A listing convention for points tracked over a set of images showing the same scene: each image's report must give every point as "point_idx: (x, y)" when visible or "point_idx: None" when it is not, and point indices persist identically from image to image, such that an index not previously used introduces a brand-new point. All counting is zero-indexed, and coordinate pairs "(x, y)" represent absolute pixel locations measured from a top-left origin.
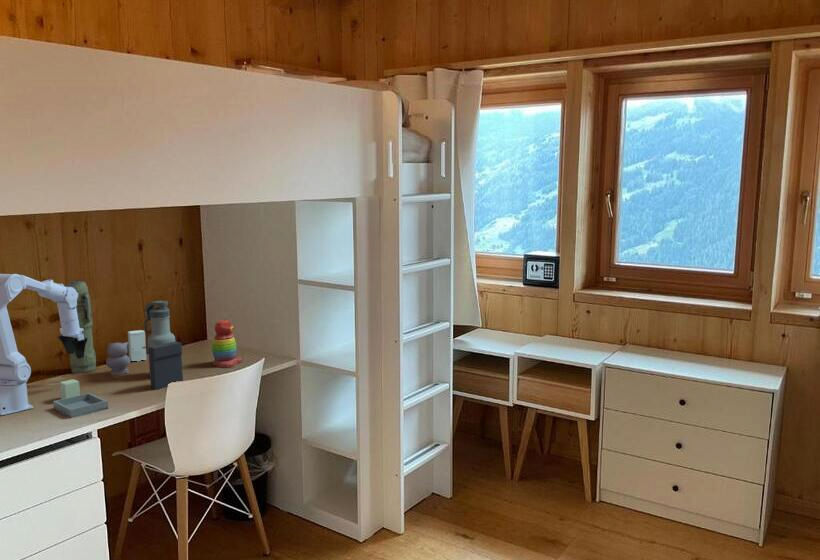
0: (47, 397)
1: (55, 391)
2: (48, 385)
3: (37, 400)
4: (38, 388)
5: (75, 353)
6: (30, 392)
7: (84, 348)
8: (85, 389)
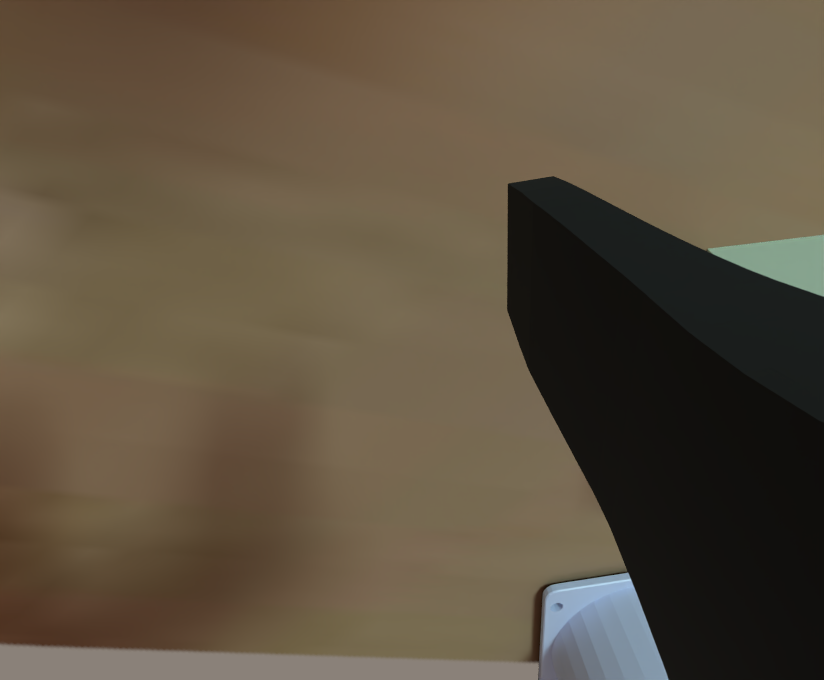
0: (519, 442)
1: (364, 354)
2: (33, 361)
3: (539, 510)
4: (106, 453)
5: (570, 429)
6: (219, 520)
7: (739, 274)
8: (560, 77)
